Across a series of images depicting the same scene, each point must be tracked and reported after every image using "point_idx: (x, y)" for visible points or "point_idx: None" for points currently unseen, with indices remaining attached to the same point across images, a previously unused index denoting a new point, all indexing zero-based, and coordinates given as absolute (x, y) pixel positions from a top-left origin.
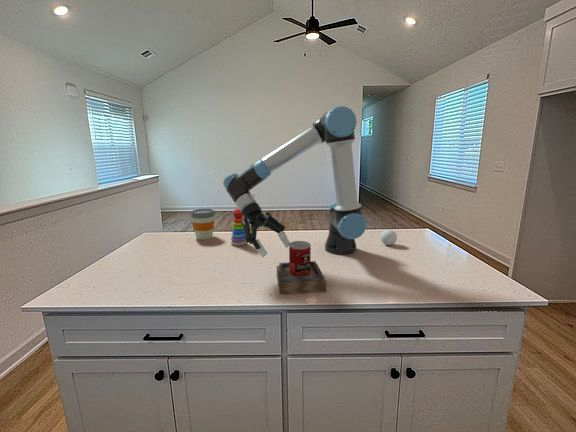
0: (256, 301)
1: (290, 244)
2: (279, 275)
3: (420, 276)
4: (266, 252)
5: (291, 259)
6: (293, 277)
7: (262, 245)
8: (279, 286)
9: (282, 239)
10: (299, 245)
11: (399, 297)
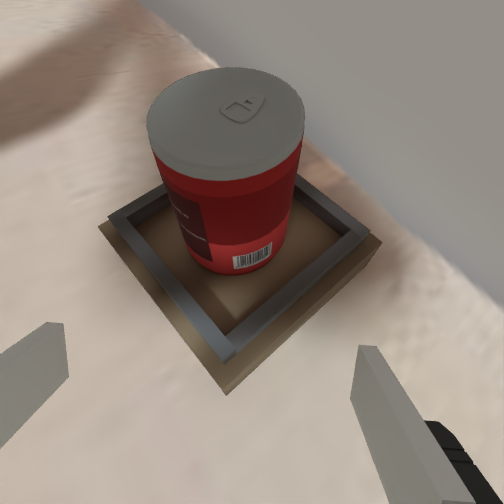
0: (470, 301)
1: (273, 149)
2: (320, 289)
3: (30, 48)
4: (368, 350)
5: (291, 196)
6: (331, 200)
7: (392, 403)
8: (368, 258)
9: (4, 420)
10: (238, 115)
11: (177, 55)
